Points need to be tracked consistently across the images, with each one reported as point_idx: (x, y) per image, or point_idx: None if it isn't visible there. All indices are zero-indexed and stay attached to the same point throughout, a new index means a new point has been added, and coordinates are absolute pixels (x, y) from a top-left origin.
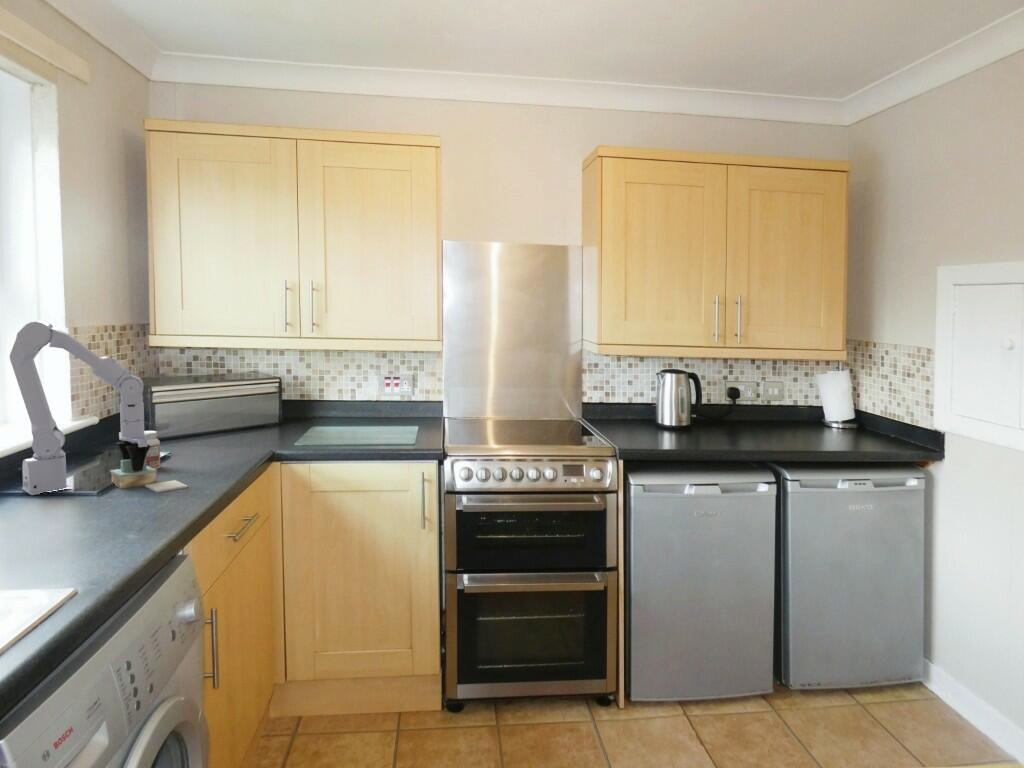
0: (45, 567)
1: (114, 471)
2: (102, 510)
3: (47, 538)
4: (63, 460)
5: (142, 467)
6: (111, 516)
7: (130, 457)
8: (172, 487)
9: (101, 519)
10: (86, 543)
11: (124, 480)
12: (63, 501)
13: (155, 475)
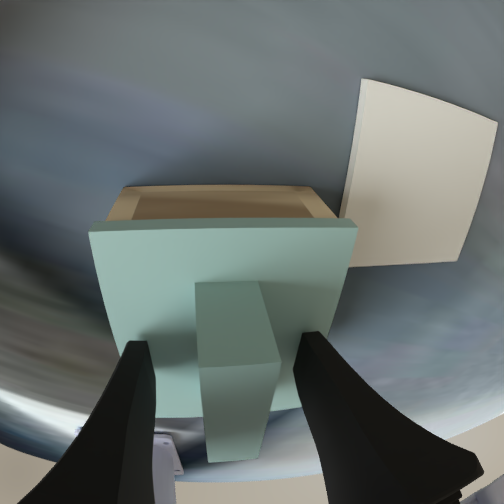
0: (498, 407)
1: (189, 413)
2: (435, 390)
3: (453, 424)
4: None
5: (330, 346)
6: (473, 376)
7: (325, 467)
8: (474, 191)
9: (468, 387)
10: (501, 391)
11: None
12: (293, 444)
13: (330, 215)
